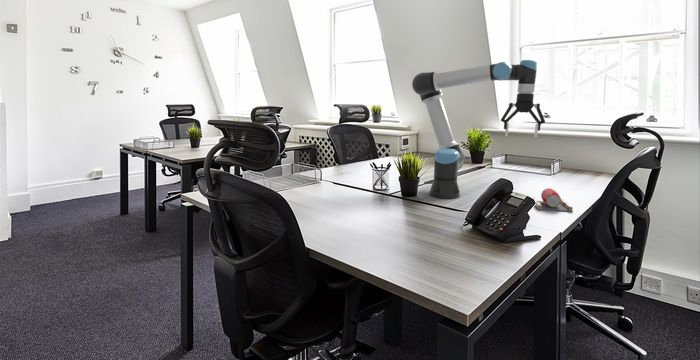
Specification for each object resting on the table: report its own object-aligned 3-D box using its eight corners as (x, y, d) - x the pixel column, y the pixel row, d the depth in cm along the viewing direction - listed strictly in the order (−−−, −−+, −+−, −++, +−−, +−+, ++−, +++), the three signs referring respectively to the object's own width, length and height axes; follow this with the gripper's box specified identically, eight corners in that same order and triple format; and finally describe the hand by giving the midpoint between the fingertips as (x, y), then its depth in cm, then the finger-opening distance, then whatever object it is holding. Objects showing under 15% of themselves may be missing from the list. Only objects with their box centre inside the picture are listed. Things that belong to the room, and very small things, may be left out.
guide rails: (531, 200, 204) (531, 197, 204) (562, 202, 201) (562, 198, 201) (538, 208, 189) (539, 205, 189) (572, 210, 186) (572, 207, 186)
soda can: (555, 202, 200) (561, 209, 189) (539, 201, 202) (544, 208, 191) (557, 187, 199) (562, 193, 187) (541, 187, 200) (545, 193, 189)
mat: (530, 201, 204) (530, 200, 204) (562, 203, 202) (562, 202, 201) (538, 210, 189) (538, 208, 189) (572, 212, 186) (572, 210, 186)
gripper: (551, 93, 204) (546, 137, 208) (497, 92, 209) (493, 135, 213) (555, 93, 197) (549, 138, 201) (499, 92, 202) (495, 136, 206)
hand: (520, 136), depth 207 cm, fingers open, 13 cm apart
